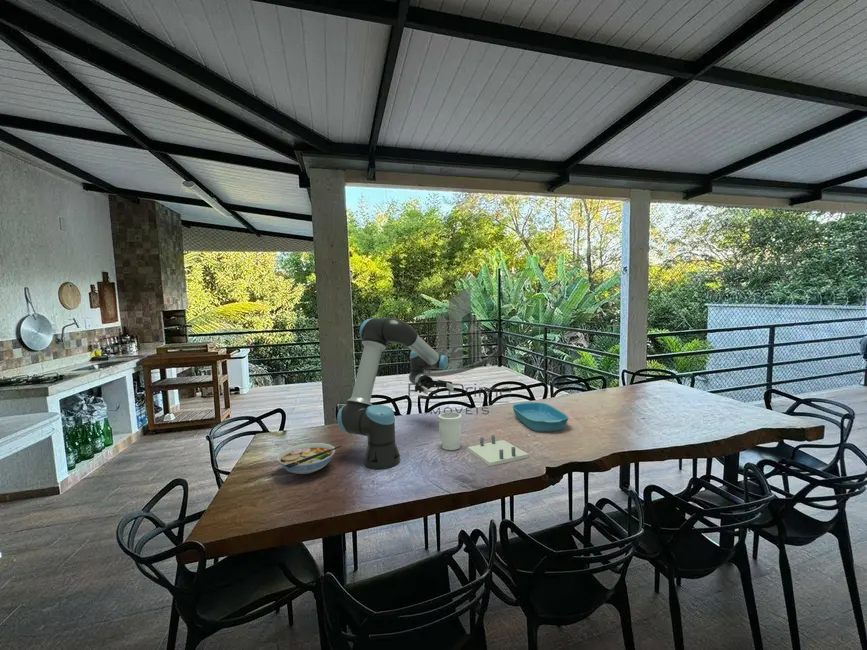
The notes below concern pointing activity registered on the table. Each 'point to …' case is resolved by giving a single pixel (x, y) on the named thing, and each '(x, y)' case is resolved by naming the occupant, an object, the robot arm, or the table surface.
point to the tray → (497, 452)
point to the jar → (450, 430)
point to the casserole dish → (540, 416)
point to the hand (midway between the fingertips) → (440, 389)
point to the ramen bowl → (306, 457)
